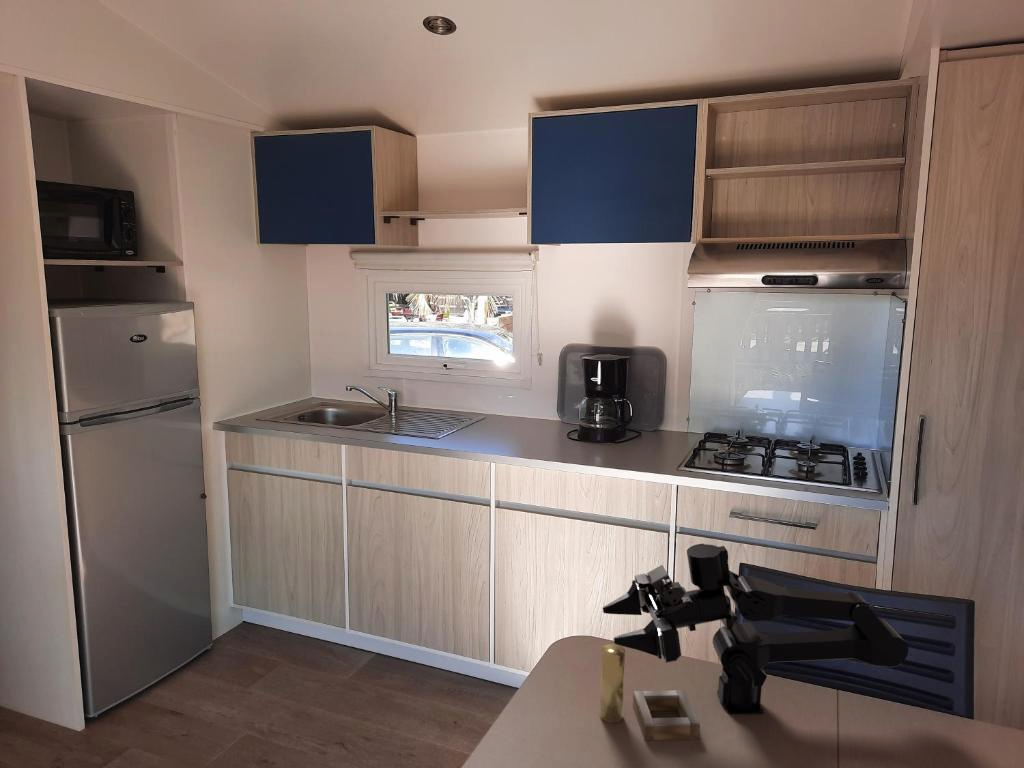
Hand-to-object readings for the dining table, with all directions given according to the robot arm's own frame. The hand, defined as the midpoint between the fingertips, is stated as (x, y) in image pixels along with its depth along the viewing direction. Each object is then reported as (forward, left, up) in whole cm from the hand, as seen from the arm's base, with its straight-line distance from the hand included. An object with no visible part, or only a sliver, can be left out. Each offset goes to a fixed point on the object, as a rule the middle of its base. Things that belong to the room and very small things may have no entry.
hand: (608, 625), depth 127 cm
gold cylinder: (0, +3, -16) cm, 16 cm away
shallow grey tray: (-9, +5, -16) cm, 19 cm away
